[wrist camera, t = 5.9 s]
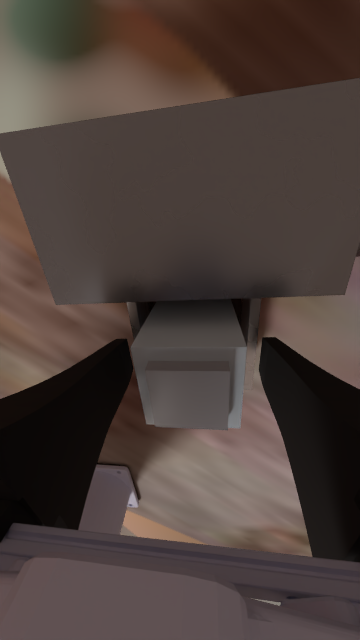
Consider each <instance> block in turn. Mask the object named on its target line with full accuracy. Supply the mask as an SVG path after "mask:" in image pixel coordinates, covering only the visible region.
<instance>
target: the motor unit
mask: <svg viewBox="0 0 360 640" xmlns="http://www.w3.org/2000/svg"><path fill="white" fill-rule="evenodd" d="M0 152H1V155H2V158H3V160H4V163H5V166H6V169H7V171H8V174H9V177H10V180H11V183H12V185H13V188H14V191H15V194H16V196H17V199H18V202H19V205H20V207H21V210H22V213H23V216H24V218H25V221H26V224H27V227H28V229H29V232H30V235H31V238H32V240H33V243H34V246H35V249H36V251H37V254H38V257H39V260H40V263H41V265H42V268H43V271H44V274H45V276H46V279H47V282H48V285H49V287H50V290H51V293H52V296H53V298H54V301H55V304H56V305H63V304H92V303H121V302H127V307H128V312H129V317H130V322H131V327H132V332H133V337H134V340H135V338H136V337H137V335H138V333H139V331H140V329H141V328H142V326H143V324H144V322H145V321H146V319H147V317H148V315H149V314H150V305H149V302H150V301H179V300H208V299H237V298H242V303H241V320H240V328H241V331H242V334H243V337H244V340H245V343H246V346H247V352H246V364H245V376H244V389H243V390H252V385H253V375H254V365H255V355H256V345H257V335H258V326H259V316H260V306H261V298H266V297H295V296H324V295H345V292H346V288H347V285H348V281H349V278H350V274H351V271H352V267H353V264H354V260H355V257H359V256H360V78H355V79H349V80H343V81H336V82H330V83H323V84H317V85H310V86H304V87H297V88H291V89H284V90H278V91H272V92H265V93H259V94H252V95H246V96H239V97H233V98H226V99H220V100H214V101H207V102H201V103H195V104H188V105H181V106H175V107H169V108H162V109H156V110H150V111H143V112H136V113H130V114H123V115H117V116H110V117H104V118H97V119H91V120H85V121H79V122H72V123H65V124H59V125H52V126H46V127H39V128H33V129H26V130H20V131H13V132H7V133H1V134H0Z"/></svg>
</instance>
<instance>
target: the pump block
mask: <svg viewBox="0 0 360 640" xmlns="http://www.w3.org/2000/svg"><path fill="white" fill-rule="evenodd" d="M130 348H131V353H132V358H133V363H134V368H135V372H136V377H137V382H138V387H139V391H140V396H141V401H142V406H143V411H144V415H145V420H146V424H154V425H155V427H169V428H191V429H213V430H228V428H240V425H241V413H242V401H243V389H244V376H245V364H246V352H247V346H246V343H245V340H244V337H243V334H242V331H241V328H240V325H239V322H238V319H237V316H236V313H235V310H234V307H233V304H232V301H231V299H208V300H179V301H156V303H155V305H154V307H153V308H152V310H151V312H150V314H149V315H148V317H147V319H146V321H145V322H144V324H143V326H142V328H141V329H140V331H139V333H138V335H137V337H136V338H135V340H134V342H133V344H132V345H131V347H130Z"/></svg>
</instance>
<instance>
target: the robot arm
mask: <svg viewBox="0 0 360 640" xmlns="http://www.w3.org/2000/svg"><path fill="white" fill-rule="evenodd" d="M132 372H133V365H132V360H131V356H130V351H129V346H128V342H127V339H116V340H114V341H112V342H110V343H109V344H107V345H105V346H104V347H102V348H101V349H99V350H98V351H96V352H95V353H93V354H91V355H90V356H88V357H87V358H85V359H84V360H82V361H80V362H79V363H77V364H75V365H74V366H72V367H70V368H69V369H67V370H65V371H63V372H61V373H59V374H57V375H55V376H53V377H51V378H49V379H47V380H45V381H43V382H41V383H39V384H36V385H34V386H32V387H29V388H27V389H25V390H23V391H20V392H18V393H15V394H12V395H10V396H7V397H5V398H2V399H0V640H360V389H358V388H356V387H354V386H352V385H350V384H348V383H346V382H344V381H342V380H340V379H338V378H337V377H335V376H333V375H331V374H330V373H328V372H326V371H325V370H323V369H321V368H320V367H318V366H316V365H315V364H313V363H312V362H310V361H309V360H307V359H306V358H304V357H303V356H301V355H300V354H298V353H297V352H296V351H294V350H293V349H291V348H290V347H289V346H287V345H286V344H284V343H283V342H282V341H280V340H279V339H277V338H275V337H263V338H262V347H261V355H260V364H259V372H260V376H261V381H262V384H263V388H264V391H265V393H266V396H267V398H268V401H269V403H270V406H271V408H272V411H273V413H274V416H275V419H276V421H277V424H278V426H279V429H280V432H281V434H282V437H283V441H284V444H285V448H286V451H287V455H288V458H289V462H290V465H291V469H292V473H293V477H294V480H295V484H296V488H297V492H298V496H299V500H300V504H301V508H302V512H303V516H304V521H305V525H306V529H307V534H308V538H309V543H310V547H311V551H312V556H313V557H307V556H298V555H290V554H281V553H272V552H264V551H255V550H246V549H237V548H229V547H220V546H211V545H203V544H194V543H185V542H177V541H167V540H159V539H150V538H141V537H133V536H124V535H120V532H121V528H122V524H123V521H124V517H125V513H126V509H127V507H138V506H139V500H138V497H137V494H136V491H135V488H134V485H133V481H132V478H131V475H130V472H129V469H128V468H127V467H125V466H112V465H98V464H97V461H98V458H99V455H100V452H101V449H102V446H103V443H104V440H105V437H106V435H107V432H108V429H109V427H110V424H111V422H112V420H113V417H114V415H115V413H116V411H117V409H118V407H119V405H120V402H121V400H122V398H123V396H124V394H125V391H126V389H127V387H128V385H129V382H130V379H131V375H132ZM251 598H253V599H251ZM255 599H261V600H268V601H274V602H281V605H280V606H278V605H274V604H270V603H266V602H262V601H258V600H255Z"/></svg>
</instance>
